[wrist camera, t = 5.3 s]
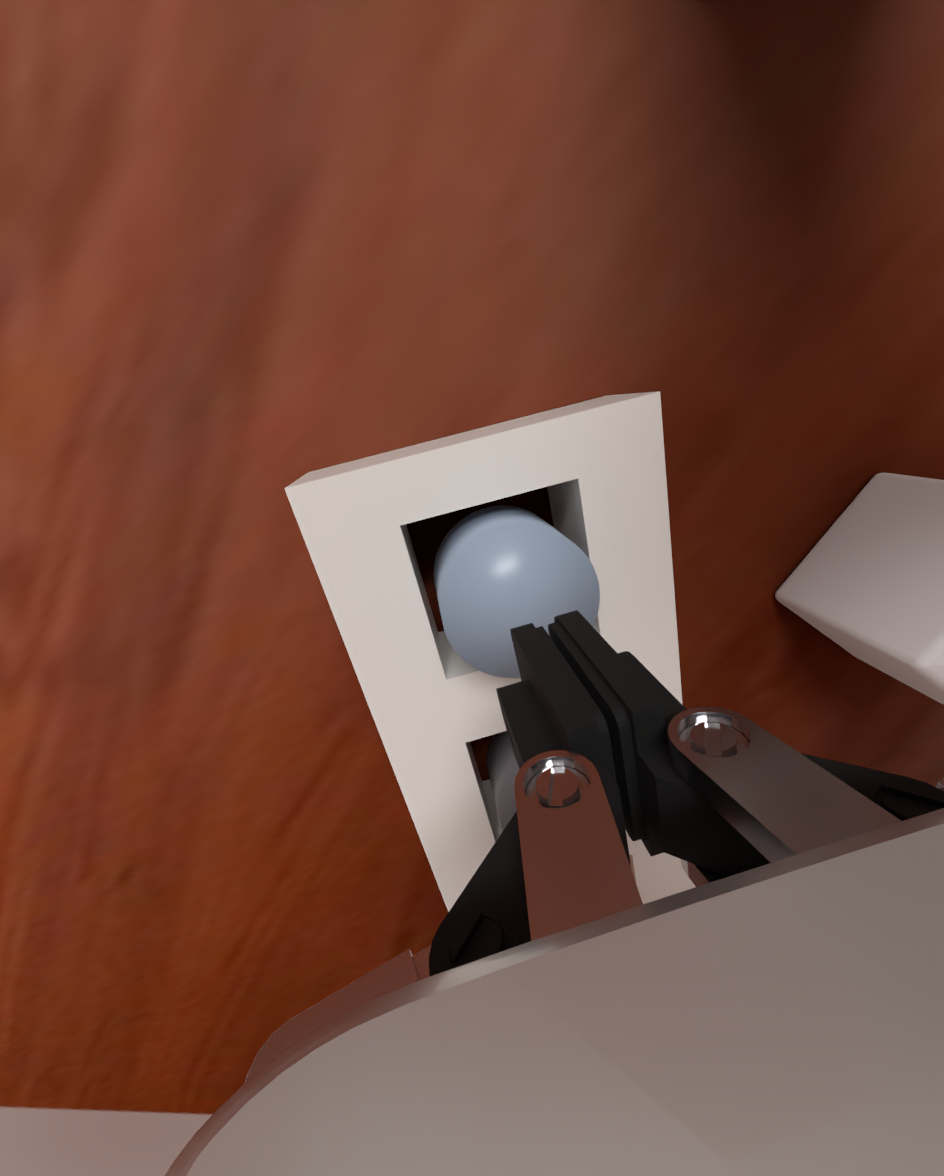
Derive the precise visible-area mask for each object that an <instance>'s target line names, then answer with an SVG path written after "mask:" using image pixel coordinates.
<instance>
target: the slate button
mask: <svg viewBox="0 0 944 1176" xmlns="http://www.w3.org/2000/svg"><path fill="white" fill-rule="evenodd" d="M434 583H435V588H436V593H437V598H438V603H439V608H440V613H441V618H442V623H443V627H444V631H445V634H446V636H447V639H448V641H449V642H450V644H451V646H452V648H453V649H454V650H455V652H456V653H457V654H458V655H459V656H460V657H461V658H462V659H463V660H464V661H465V662H466V663H468V664H469V665H470V666H472V667H473V668H475V669H477V670H479V671H481V672H484V673H486V674H489V675H493V676H497V677H503V678H521V677H520V672H519V668H518V664H517V659H516V655H515V651H514V646H513V642H512V638H511V632H510V629H512V628H516V627H519V626H523V625H526V624H530V623H533V624H534V626H535V627H536V628H537V627H541V626H543V628H544V629H545V630H546V632H547V633H548V635H549V631H548V624H551V623H554V617H555V616H558V615H561V614H565V613H568V612H572V611H575V610H577V611H579V612H580V613H581V615H582V616H583V617H584V618H585V619H586V620H587V621H588V622H589V623H590V624H591V625H592V626H594V623H595V620H596V618H597V614H598V609H599V603H600V589H599V582H598V578H597V575H596V572H595V569H594V567H593V565H592V563H591V561H590V560H589V558H588V557H587V556H586V554H585V553H584V552H583V551H582V550H581V549H580V548H579V547H578V546H577V545H576V544H575V543H573V542H572V541H571V540H569V539H568V538H567V537H565V536H564V535H563V534H561V533H560V532H559V531H557V530H556V529H555V528H554V527H552V526H551V525H550V524H548V523H547V522H546V521H544V520H543V519H542V518H540V517H539V516H537V515H536V514H534V513H532V512H530V511H528V510H525V509H522V508H519V507H514V506H504V505H503V506H492V507H487V508H483V509H480V510H477V511H475V512H473V513H471V514H469V515H467V516H466V517H464V518H463V519H461V520H460V521H459V522H458V523H457V524H455V525H454V526H453V527H452V528H451V530H450V531H449V532H448V533H447V534H446V536H445V537H444V539H443V540H442V542H441V544H440V546H439V548H438V551H437V554H436V557H435V562H434Z"/></svg>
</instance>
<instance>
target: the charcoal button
mask: <svg viewBox="0 0 944 1176" xmlns="http://www.w3.org/2000/svg"><path fill="white" fill-rule="evenodd" d="M486 765H487V770H488V774H489V778H490V782H491V786H492V790H493V795H494V799H495V803H496V807H497V811H498V815H499V819H500V823H501V827H502V831H503V830H504V829H505V827H506V826H507V824H508V823H509V821H510V820H511V818H512V817H513V815H514V814H515V812H516V811H517V809H516V800H515V791H514V785H515V777H516V775H517V773H518V771H519V767H518V764H517V761H516V758H515V755H514V752H513V749H512V746H511V743H510V740H509V737H508V733H507V731H504V732H501V733H497V734H495V735H494V736H493V738H492V739H491V741H490V744H489V746H488V749H487V754H486Z"/></svg>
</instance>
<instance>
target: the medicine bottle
mask: <svg viewBox="0 0 944 1176" xmlns="http://www.w3.org/2000/svg"><path fill="white" fill-rule="evenodd" d="M775 598H776V599H777V600H778V601H779V602H780V603H781V604H783V605H784V606H786V607H787V608H788V609H790V610H791V611H792V612H794V613H795V614H797V615H798V616H799V617H801V618H802V619H803V620H805V621H806V622H808V623H809V624H810V625H812V626H813V627H814V628H816V629H817V630H819V631H820V632H821V633H823V634H824V635H826V636H827V637H828V638H830V639H831V640H832V641H834V642H835V643H837V644H838V645H839V646H841V647H842V648H843V649H845V650H846V651H848V652H849V653H850V654H852V655H853V656H854V657H856V658H858V659H860V660H862V661H863V662H865V663H867V664H869V665H871V666H873V667H875V668H876V669H878V670H880V671H882V672H884V673H886V674H888V675H889V676H891V677H893V678H895V679H897V680H899V681H900V682H902V683H904V684H906V685H908V686H910V687H912V688H913V689H915V690H917V691H919V692H921V693H923V694H925V695H926V696H928V697H930V698H932V699H934V700H936V701H938V702H939V703H941V704H943V705H944V480H940V479H932V478H924V477H916V476H908V475H900V474H892V473H885V472H884V473H879V474H876V475H875V476H874V477H873V478H872V479H871V480H870V481H869V482H868V484H867V485H866V486H865V487H864V488H863V489H862V491H861V492H860V493H859V494H858V495H857V497H856V498H855V499H854V500H853V501H852V503H851V504H850V505H849V506H848V507H847V508H846V510H845V511H844V512H843V513H842V514H841V516H840V517H839V518H838V519H837V520H836V521H835V523H834V524H833V525H832V526H831V527H830V529H829V530H828V531H827V532H826V533H825V534H824V536H823V537H822V538H821V539H820V540H819V542H818V543H817V544H816V545H815V546H814V547H813V549H812V550H811V551H810V552H809V553H808V555H807V556H806V557H805V558H804V559H803V560H802V562H801V563H800V564H799V565H798V566H797V568H796V569H795V570H794V571H793V572H792V573H791V575H790V576H789V577H788V578H787V579H786V581H785V582H784V583H783V584H782V585H781V586H780V588H779V589H778V590H777V591H776V593H775Z"/></svg>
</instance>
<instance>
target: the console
mask: <svg viewBox="0 0 944 1176" xmlns="http://www.w3.org/2000/svg"><path fill="white" fill-rule="evenodd" d="M544 487H547V490H548V496H549V502H550V508H551V514H552V520H553V525H554V528H555V529H556V530H557V531H559V532H560V533H561V534H563V535H564V536H565V537H567V538H568V539H569V540H571V541H572V542H573V543H575V544H576V545H577V546H578V547H579V548H580V549H581V550H582V551H583V552H584V553H585V554H586V556H587V557H588V558H589V560H590V561H591V563H592V565H593V567H594V569H595V572H596V575H597V578H598V582H599V589H600V603H599V609H598V614H597V618H596V620H595V623H594V626H593V628H594V629H595V630H596V631H597V632H598V633H599V634H600V635H601V636H602V637H603V638H604V639H605V640H606V642H607V643H608V644H609V645H610V646H611V647H612V648H613V649H614V650H615V651H616V652H617V653H621V652H624V651H629V652H630V653H631V654H633V655H634V656H635V657H636V658H637V659H638V660H639V661H640V662H641V663H642V664H643V665H644V666H645V667H646V668H647V669H648V670H649V672H650V673H651V674H652V675H653V676H654V677H655V678H656V679H657V680H658V681H659V682H660V683H661V684H662V685H663V686H664V687H665V688H666V689H667V690H668V691H669V692H670V693H671V694H672V695H673V696H674V697H675V698H676V699H677V700H678V701H679V702H680V703H681V704H682V691H681V677H680V663H679V649H678V635H677V621H676V607H675V593H674V579H673V565H672V551H671V537H670V523H669V509H668V495H667V481H666V467H665V453H664V439H663V425H662V411H661V397H660V391H658V392H645V393H632V394H619V395H607V396H603V397H599V398H595V399H591V400H588V401H584V402H580V403H576V404H572V405H568V406H564V407H560V408H556V409H553V410H549V411H545V412H541V413H537V414H533V415H529V416H525V417H521V418H518V419H514V420H510V421H506V422H502V423H498V424H494V425H490V426H487V427H483V428H479V429H475V430H471V431H467V432H463V433H459V434H455V435H452V436H448V437H444V438H440V439H436V440H432V441H428V442H424V443H420V444H417V445H413V446H409V447H405V448H401V449H397V450H393V451H389V452H385V453H382V454H378V455H374V456H370V457H366V458H362V459H358V460H354V461H350V462H347V463H343V464H339V465H335V466H331V467H327V468H323V469H319V470H316V471H312V472H308V473H307V474H305V475H304V476H302V477H301V478H299V479H298V480H296V481H295V482H293V483H292V484H290V485H289V486H287V487H286V488H284V489H285V491H286V494H287V497H288V499H289V502H290V504H291V507H292V509H293V512H294V515H295V517H296V520H297V522H298V525H299V527H300V530H301V533H302V535H303V538H304V540H305V543H306V546H307V548H308V551H309V553H310V556H311V558H312V561H313V564H314V566H315V569H316V571H317V574H318V577H319V579H320V582H321V584H322V587H323V589H324V592H325V595H326V597H327V600H328V602H329V605H330V608H331V610H332V613H333V615H334V618H335V620H336V623H337V626H338V628H339V631H340V633H341V636H342V639H343V641H344V644H345V646H346V649H347V651H348V654H349V657H350V659H351V662H352V664H353V667H354V670H355V672H356V675H357V677H358V680H359V682H360V685H361V688H362V690H363V693H364V695H365V698H366V701H367V703H368V706H369V708H370V711H371V713H372V716H373V719H374V721H375V724H376V726H377V729H378V732H379V734H380V737H381V739H382V742H383V744H384V747H385V750H386V752H387V755H388V757H389V760H390V762H391V765H392V768H393V770H394V773H395V775H396V778H397V781H398V783H399V786H400V788H401V791H402V793H403V796H404V799H405V801H406V804H407V806H408V809H409V812H410V814H411V817H412V819H413V822H414V824H415V827H416V830H417V832H418V835H419V837H420V840H421V843H422V845H423V848H424V850H425V853H426V855H427V858H428V861H429V863H430V866H431V868H432V871H433V874H434V876H435V879H436V881H437V884H438V886H439V889H440V892H441V894H442V897H443V899H444V902H445V905H446V907H447V910H448V912H449V911H450V910H451V908H452V907H453V905H454V904H455V902H456V901H457V899H458V898H459V896H460V895H461V893H462V892H463V890H464V889H465V887H466V886H467V884H468V883H469V881H470V880H471V878H472V877H473V875H474V874H475V872H476V871H477V869H478V868H479V866H480V865H481V863H482V862H483V860H484V859H485V857H486V856H487V854H488V853H489V851H490V850H491V848H492V847H493V845H494V844H495V842H496V841H497V839H498V838H499V836H500V835H501V833H502V832H503V831H502V827H501V823H500V819H499V815H498V811H497V807H496V803H495V799H494V795H493V790H492V786H491V782H490V779H488V780H485V781H482V779H481V776H480V772H479V769H478V766H477V762H476V759H475V755H474V752H473V749H472V745H471V742H470V741H473V740H477V739H480V738H484V737H487V736H490V735H494V734H497V733H501V732H504V731H507V730H506V726H505V723H504V719H503V715H502V711H501V708H500V704H499V700H498V696H497V691H496V689H497V688H500V687H504V686H507V685H510V684H514V683H517V682H521V678H503V677H497V676H493V675H489V674H486V673H484V672H481V671H479V670H477V669H475V668H473V667H472V666H470V665H469V664H468V663H466V662H465V661H464V660H463V659H462V658H461V657H460V656H459V655H458V654H457V653H456V652H455V650H454V649H453V648H452V646H451V644H450V642H449V641H448V639H447V636H446V634H445V631H441V632H438V630H437V627H436V623H435V620H434V617H433V613H432V610H431V606H430V603H429V600H428V596H427V593H426V590H425V586H424V583H423V579H422V576H421V573H420V569H419V566H418V562H417V559H416V556H415V552H414V549H413V546H412V542H411V539H410V535H409V532H408V529H407V525H406V524H408V523H412V522H416V521H420V520H423V519H427V518H431V517H435V516H438V515H442V514H446V513H450V512H454V511H457V510H461V509H465V508H469V507H472V506H476V505H480V504H484V503H487V502H491V501H495V500H499V499H502V498H506V497H510V496H514V495H517V494H521V493H525V492H529V491H533V490H536V489H540V488H544ZM626 836H627V843H628V849H629V856H630V862H631V863H630V867H631V870H632V873H633V876H634V879H635V882H636V885H637V888H638V891H639V894H640V897H641V900H642V903H643V904H646V903H649V902H652V901H655V900H658V899H661V898H664V897H667V896H670V895H673V894H677V893H680V892H683V891H686V890H689V889H692V888H695V885H694V883H693V882H692V881H691V880H690V879H689V877H688V876H687V874H686V872H685V871H684V869H683V868H682V864H681V860H680V858H677V857H675V856H672V855H669V854H667V853H661V854H658V855H655V856H650V854H649V852H648V851H647V849H646V847H645V846H644V844H643V842H642V840H641V839H640V840H637V841H632V840H631V838H630V837H629V835H628V833H627V831H626Z"/></svg>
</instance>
